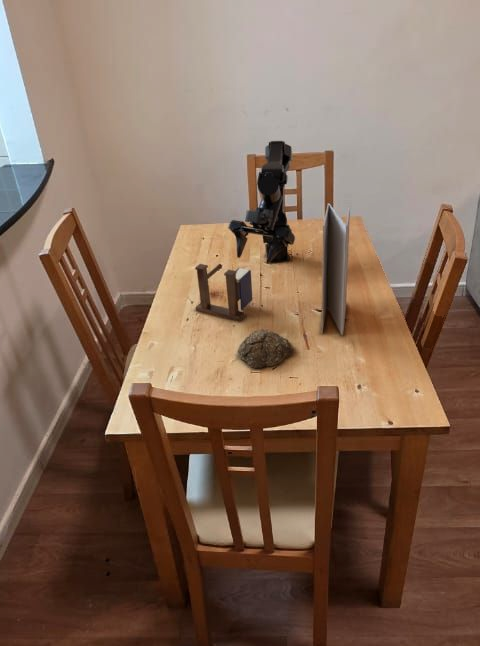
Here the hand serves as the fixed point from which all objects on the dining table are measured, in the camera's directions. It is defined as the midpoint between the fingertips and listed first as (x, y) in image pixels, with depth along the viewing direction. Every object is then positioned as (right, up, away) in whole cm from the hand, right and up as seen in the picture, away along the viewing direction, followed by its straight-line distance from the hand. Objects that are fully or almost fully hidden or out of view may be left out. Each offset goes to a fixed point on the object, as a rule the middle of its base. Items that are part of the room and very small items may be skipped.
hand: (252, 260), depth 156 cm
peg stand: (-7, -13, +2) cm, 15 cm away
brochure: (+22, -17, -7) cm, 28 cm away
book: (-3, -12, 0) cm, 13 cm away
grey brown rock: (+2, -25, -18) cm, 31 cm away
